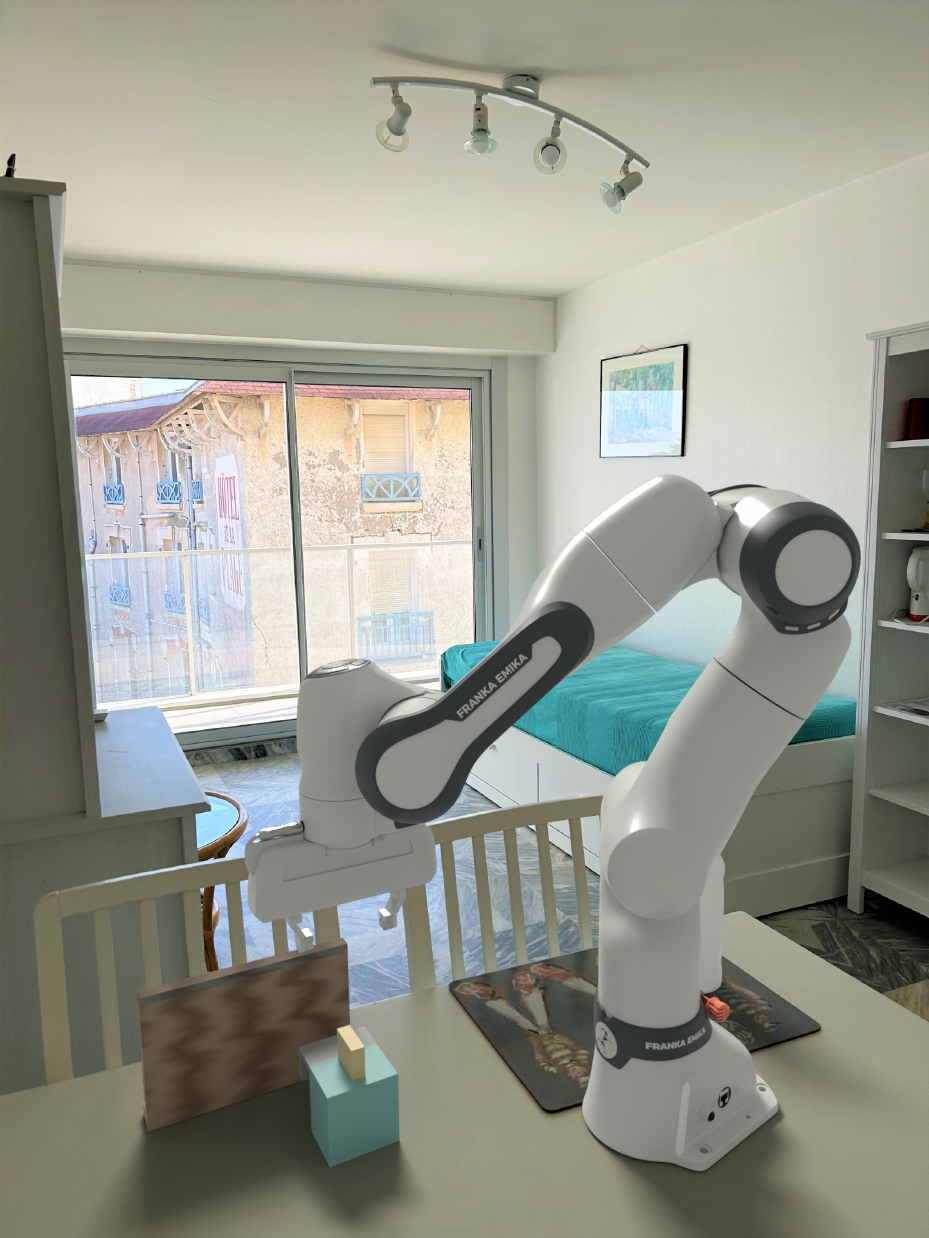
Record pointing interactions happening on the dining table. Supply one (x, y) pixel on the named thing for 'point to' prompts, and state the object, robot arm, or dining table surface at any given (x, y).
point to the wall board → (237, 1030)
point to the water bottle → (712, 928)
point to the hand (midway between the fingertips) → (347, 937)
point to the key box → (350, 1094)
